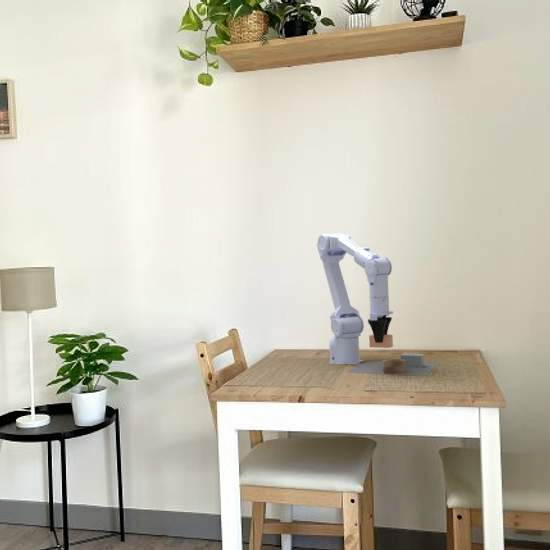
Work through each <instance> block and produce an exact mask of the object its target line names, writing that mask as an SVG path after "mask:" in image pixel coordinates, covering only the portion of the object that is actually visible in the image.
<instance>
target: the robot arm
mask: <svg viewBox="0 0 550 550" xmlns="http://www.w3.org/2000/svg"><path fill="white" fill-rule="evenodd" d="M317 238H318V239H317V243H316V247H317V250H318V255H319V258H320V260H321V263H322V265H323V270H324V275H325V277H326V280H327V284H328V288H329V292H330V294H331V300H332V302H333V306H334V311H333V312H332V313H331V314H330V317H329V319H330V329H331V332H332V335H334V336H331V337H330V339H329V345H328V346H329V364H340V365H341V364H342V365H346V364H347V365H359V364H361V363H362V362H364V360H363V359H360V341H359V340H360V338H359V337H361V334H362V333H363V331H364V328H365V325H364V320H363V318H362V317H361V315H360V312H359V309H358V310H357V308H355V307H354V306H352V305H351V302H350V298H349V296H348V291H347V287H346V284H345V280H344V276H343V273H342V270H341V267H340V261H342V260H343V259H344V258H345V256H346V255H347V254H348V255H350V256H351V257H353V261H354V262H355V263H356V264H357V265H359V266H360V267H361V268H362V269H364V273H365V275H366V278H367V282H368V283H369V286H368V287H369V319H367V323H368V325H369V326H370V329H371V330H372V334H373V335H374V339H375V342H376V343H382V342H383V337H384V335H388V332H389V331H388V330H389V327H390V324H391V322H392V320H393V317H391V316H390V315H394V311H392V310H391V311H390V300H389V299H390V298H389V276H390V274H392V269H393V267H392V265H393V264H392V262H391V260H390V259H389V258H388V257H386V256H385V257H380V256H379V255H378V254H377V253H374V252H373V251H372V250H370V247H368V246H367V247H366V246H363V247H361V246H359V245H358V244H357V243H355V242H354V241H353V240H352V239H351V235H348V234H347V233H346V232H342V233H321V234H320V235H319V237H317Z"/></svg>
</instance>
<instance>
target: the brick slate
mask: <svg viewBox="0 0 550 550" xmlns="http://www.w3.org/2000/svg"><path fill="white" fill-rule="evenodd" d="M400 359H405V361H406V367H423V366H424V363H425V362H424V361H425V359H424V354H423V353H402V354H401V355H400Z"/></svg>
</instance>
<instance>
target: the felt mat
mask: <svg viewBox="0 0 550 550" xmlns="http://www.w3.org/2000/svg"><path fill="white" fill-rule="evenodd" d="M438 365H439V363H429V362H427V363H426V362H424V366H423V367H406V373H386V374H384V372H383V361H377V360H375V361H372V360H370V361H369V360H363V361H362V362H360V363H358V364H356V366H355V367H352V368H350V369H349V370H348V371H346V373H353V374H354V373H355V374H379V375H398V376H399V375H400V376H401V375H402V376H403V375H404V376H418V377H419V376H421V377H425V376H426V377H427V376H428V375H429V374H430V373H432V371H433V370H434V369H435V368H436V367H437V366H438Z"/></svg>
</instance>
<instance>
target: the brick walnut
mask: <svg viewBox="0 0 550 550" xmlns="http://www.w3.org/2000/svg"><path fill="white" fill-rule="evenodd" d="M382 362H383V372H384V374H383V375H387V374H386V373H406V361H405V359H401V358H395V359H387V358H386V359H382Z"/></svg>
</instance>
